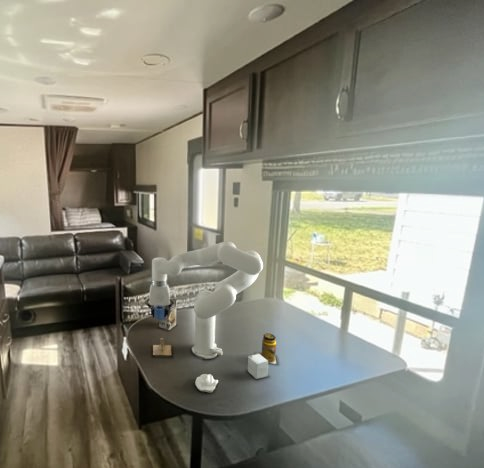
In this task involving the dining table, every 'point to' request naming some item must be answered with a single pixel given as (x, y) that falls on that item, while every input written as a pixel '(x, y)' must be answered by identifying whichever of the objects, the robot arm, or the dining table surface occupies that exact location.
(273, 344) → the condiment
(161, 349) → the dowel stand
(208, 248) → the robot arm
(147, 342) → the dining table surface
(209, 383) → the rose
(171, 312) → the coffee box
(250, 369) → the product carton
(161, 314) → the spool
